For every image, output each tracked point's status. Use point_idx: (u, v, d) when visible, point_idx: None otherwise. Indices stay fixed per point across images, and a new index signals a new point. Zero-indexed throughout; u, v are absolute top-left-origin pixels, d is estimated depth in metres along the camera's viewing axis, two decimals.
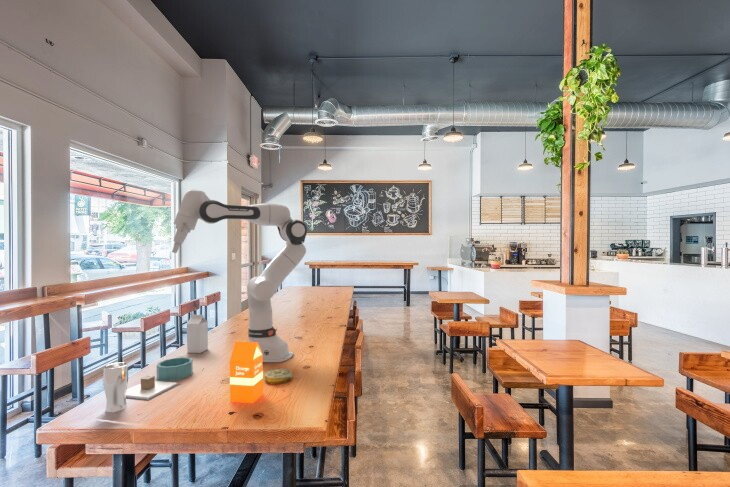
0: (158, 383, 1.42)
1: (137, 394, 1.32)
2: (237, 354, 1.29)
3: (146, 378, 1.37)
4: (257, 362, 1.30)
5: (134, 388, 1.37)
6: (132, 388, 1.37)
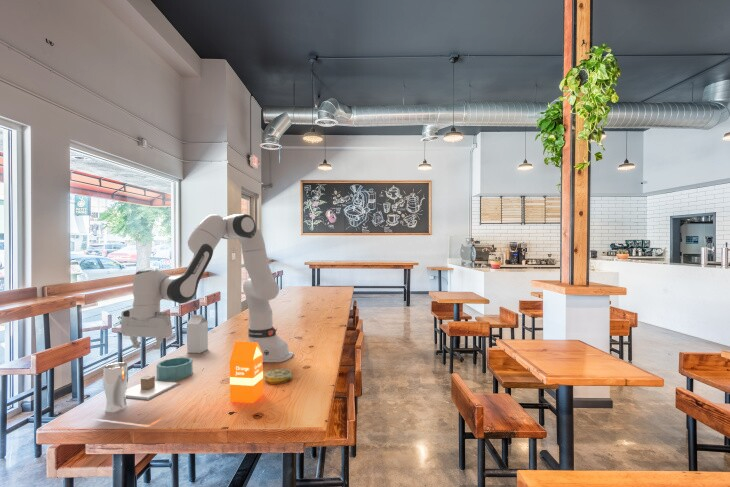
0: (158, 383, 1.42)
1: (137, 394, 1.32)
2: (237, 355, 1.29)
3: (146, 378, 1.37)
4: (257, 362, 1.30)
5: (134, 388, 1.37)
6: (132, 388, 1.37)
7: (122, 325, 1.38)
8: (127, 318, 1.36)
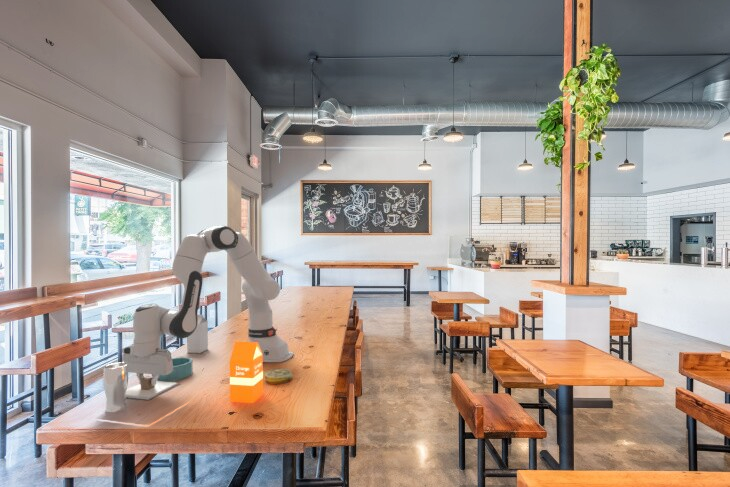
0: (158, 383, 1.42)
1: (137, 394, 1.32)
2: (237, 354, 1.29)
3: (146, 378, 1.37)
4: (257, 362, 1.30)
5: (134, 388, 1.37)
6: (132, 388, 1.37)
7: None
8: (128, 355, 1.36)
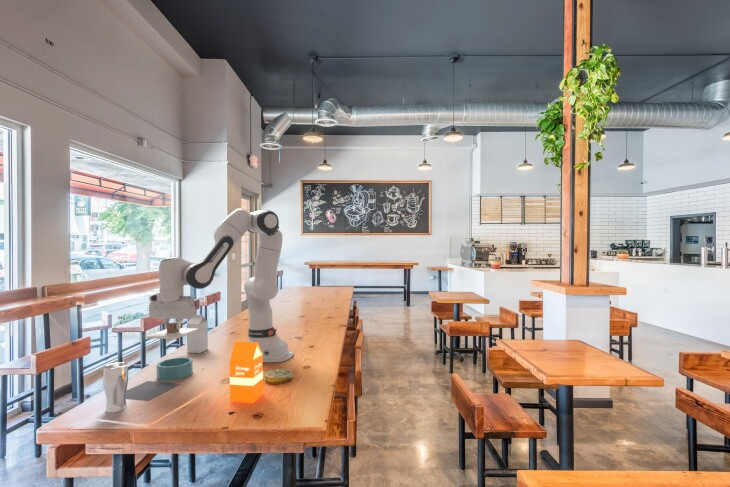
0: (182, 329, 1.56)
1: (164, 335, 1.46)
2: (237, 354, 1.29)
3: (171, 323, 1.51)
4: (257, 362, 1.30)
5: (161, 332, 1.52)
6: (159, 332, 1.52)
7: (150, 308, 1.52)
8: (154, 302, 1.51)
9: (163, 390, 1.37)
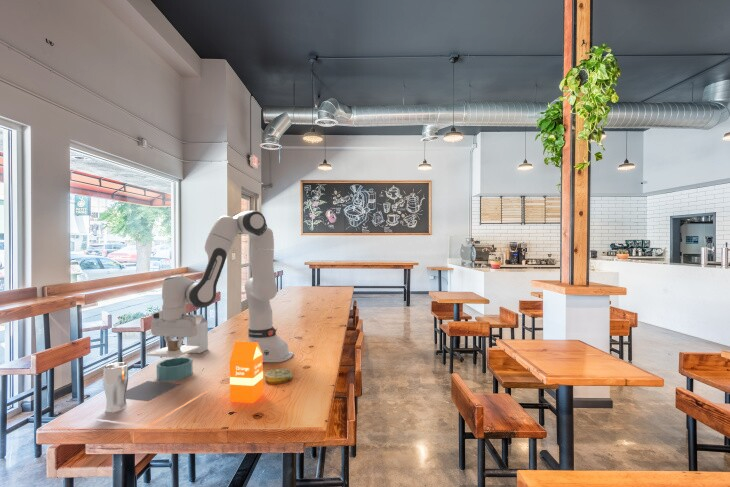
0: (183, 347, 1.57)
1: (165, 353, 1.48)
2: (237, 354, 1.29)
3: (173, 340, 1.53)
4: (257, 362, 1.30)
5: (162, 350, 1.53)
6: (160, 350, 1.53)
7: (152, 326, 1.54)
8: (157, 320, 1.52)
9: (163, 390, 1.37)
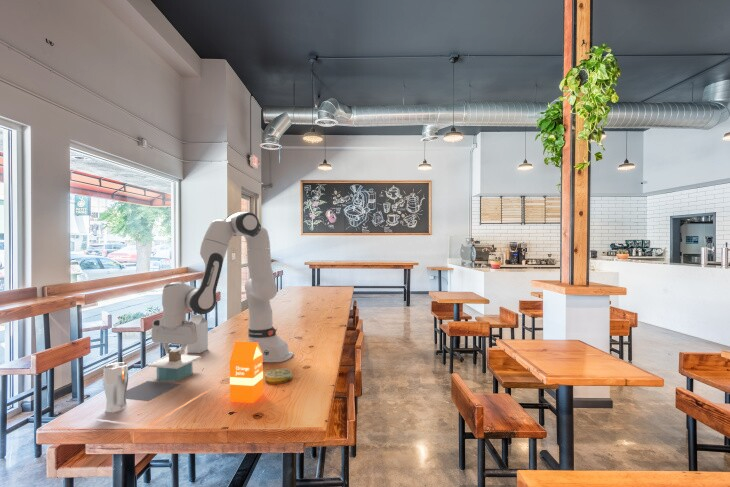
0: (184, 357, 1.58)
1: (166, 364, 1.48)
2: (237, 354, 1.29)
3: (173, 351, 1.53)
4: (257, 362, 1.30)
5: (163, 360, 1.53)
6: (161, 360, 1.53)
7: (152, 333, 1.54)
8: (157, 327, 1.52)
9: (163, 390, 1.37)
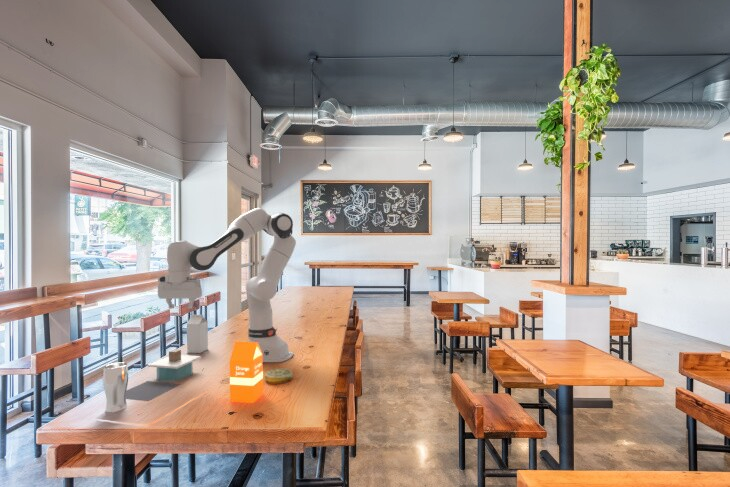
0: (184, 357, 1.58)
1: (166, 364, 1.48)
2: (237, 354, 1.29)
3: (173, 351, 1.53)
4: (257, 362, 1.30)
5: (163, 360, 1.53)
6: (161, 360, 1.53)
7: (158, 289, 1.61)
8: (163, 283, 1.60)
9: (163, 390, 1.37)
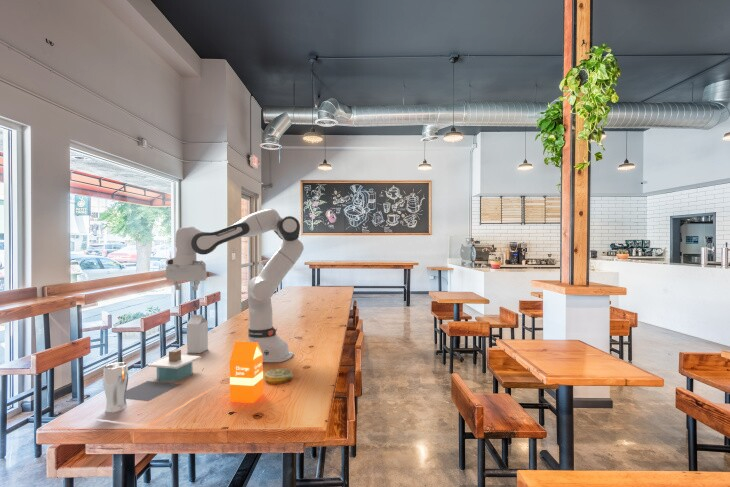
0: (184, 357, 1.58)
1: (166, 364, 1.48)
2: (237, 354, 1.29)
3: (173, 351, 1.53)
4: (257, 362, 1.30)
5: (163, 360, 1.53)
6: (161, 360, 1.53)
7: (166, 271, 1.72)
8: (171, 266, 1.71)
9: (163, 390, 1.37)
